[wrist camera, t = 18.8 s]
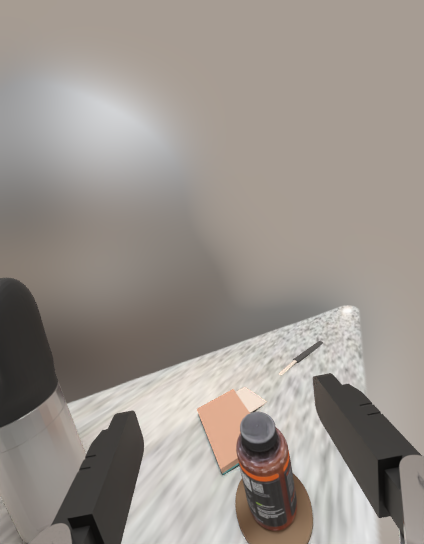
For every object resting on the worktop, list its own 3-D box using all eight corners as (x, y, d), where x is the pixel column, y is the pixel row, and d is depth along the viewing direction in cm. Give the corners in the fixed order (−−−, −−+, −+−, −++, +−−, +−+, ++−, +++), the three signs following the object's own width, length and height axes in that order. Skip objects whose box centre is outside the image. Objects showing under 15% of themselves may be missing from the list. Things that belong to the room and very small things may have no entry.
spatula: (227, 402, 46) (226, 396, 45) (310, 339, 61) (310, 335, 61) (248, 420, 41) (247, 414, 40) (333, 347, 56) (332, 342, 56)
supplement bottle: (286, 470, 30) (274, 399, 28) (307, 527, 25) (295, 444, 22) (243, 480, 30) (228, 410, 28) (254, 540, 24) (236, 457, 22)
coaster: (222, 505, 29) (220, 500, 29) (267, 454, 34) (266, 450, 34) (281, 589, 21) (280, 583, 21) (327, 508, 27) (327, 503, 26)
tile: (267, 438, 34) (233, 388, 45) (220, 469, 32) (196, 409, 43) (269, 444, 34) (234, 393, 46) (222, 475, 32) (198, 413, 43)
